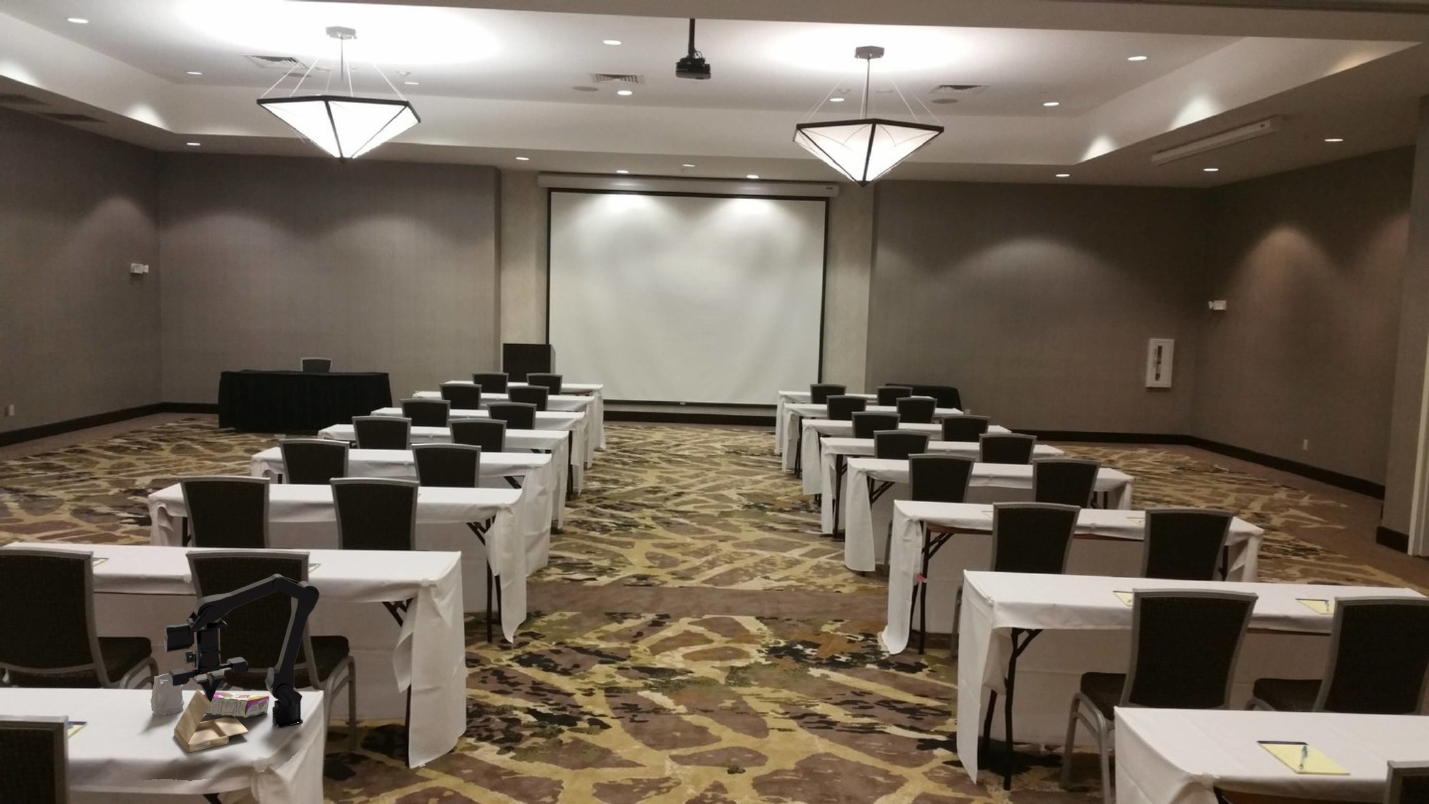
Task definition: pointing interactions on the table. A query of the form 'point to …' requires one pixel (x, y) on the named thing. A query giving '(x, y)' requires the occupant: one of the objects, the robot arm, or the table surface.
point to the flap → (193, 715)
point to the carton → (212, 733)
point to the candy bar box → (237, 704)
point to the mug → (166, 696)
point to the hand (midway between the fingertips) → (209, 702)
